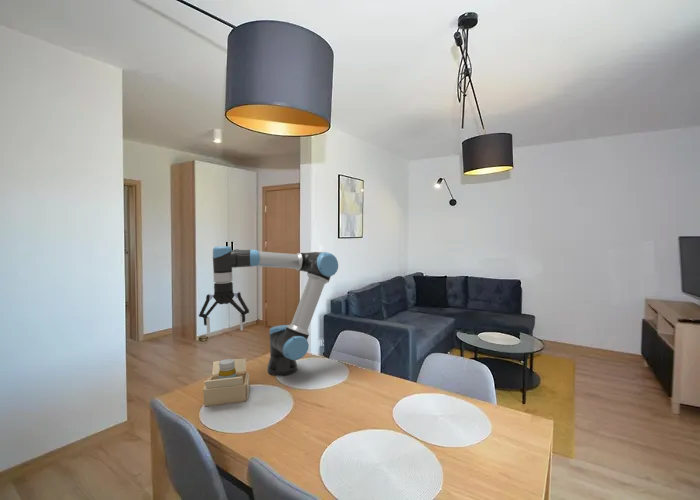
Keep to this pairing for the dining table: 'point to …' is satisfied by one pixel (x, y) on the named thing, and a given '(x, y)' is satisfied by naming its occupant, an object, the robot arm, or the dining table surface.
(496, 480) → the dining table surface
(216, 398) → the carton
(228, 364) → the bottle
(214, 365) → the back flap
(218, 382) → the front flap
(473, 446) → the dining table surface
